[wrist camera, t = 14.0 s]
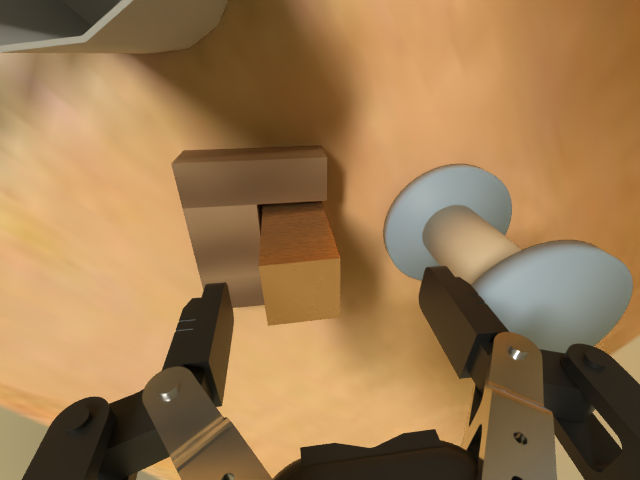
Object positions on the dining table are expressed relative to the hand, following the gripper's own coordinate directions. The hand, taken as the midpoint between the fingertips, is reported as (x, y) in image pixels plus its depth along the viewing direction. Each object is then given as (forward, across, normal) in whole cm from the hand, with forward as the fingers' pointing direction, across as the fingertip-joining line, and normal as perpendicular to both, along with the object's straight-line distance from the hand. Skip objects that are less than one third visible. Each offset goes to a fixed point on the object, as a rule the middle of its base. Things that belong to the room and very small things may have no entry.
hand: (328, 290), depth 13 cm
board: (+9, +3, +2) cm, 10 cm away
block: (+9, +1, +1) cm, 9 cm away
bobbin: (+9, -10, +3) cm, 14 cm away
